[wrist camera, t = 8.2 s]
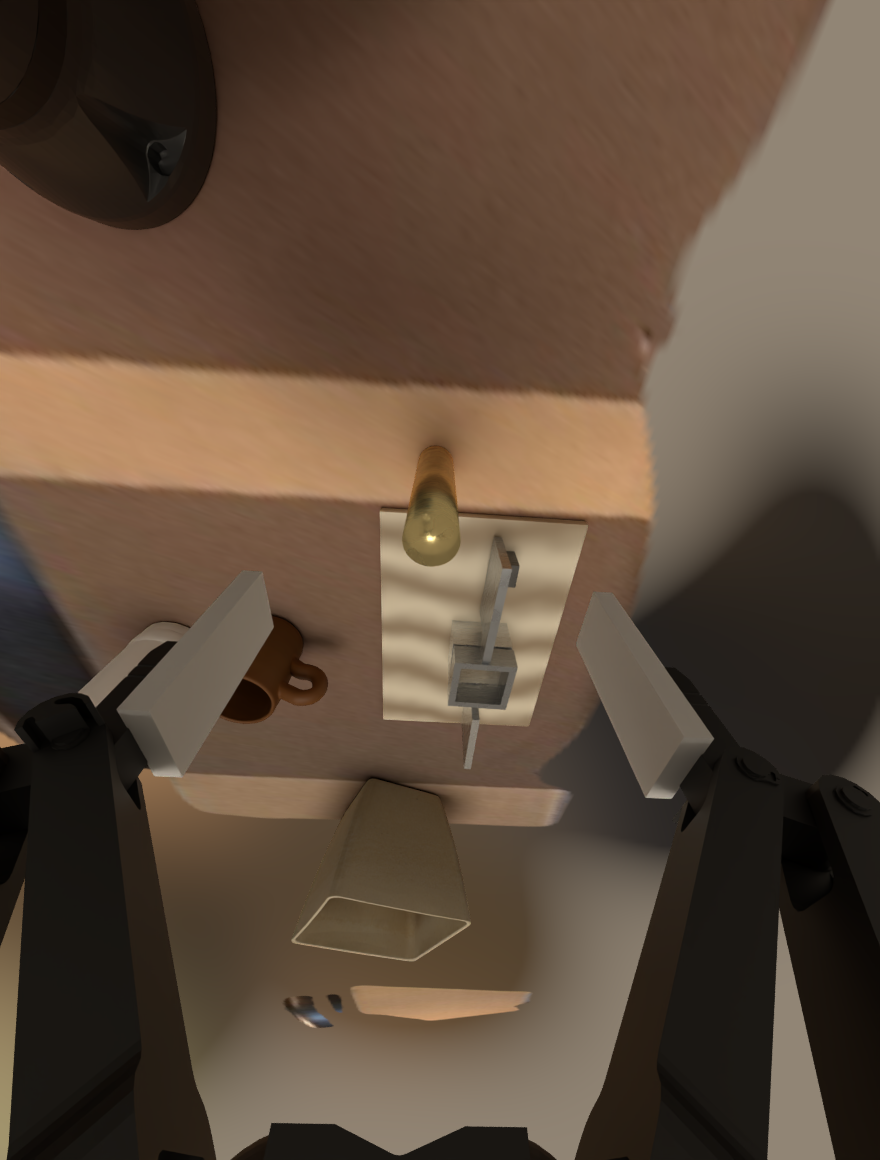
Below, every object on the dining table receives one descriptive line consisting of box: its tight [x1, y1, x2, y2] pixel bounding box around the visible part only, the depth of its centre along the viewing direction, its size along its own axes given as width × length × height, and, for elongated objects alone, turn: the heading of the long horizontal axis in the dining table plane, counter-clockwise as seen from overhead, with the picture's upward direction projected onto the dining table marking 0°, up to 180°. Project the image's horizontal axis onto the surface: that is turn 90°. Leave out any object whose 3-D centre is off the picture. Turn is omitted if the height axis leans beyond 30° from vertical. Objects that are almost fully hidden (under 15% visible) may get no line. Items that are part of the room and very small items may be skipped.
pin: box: [402, 446, 461, 567], centre depth 27 cm, size 3×3×16 cm
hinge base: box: [448, 551, 520, 769], centre depth 41 cm, size 26×6×7 cm, turn 176°
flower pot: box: [292, 779, 471, 961], centre depth 57 cm, size 19×19×17 cm
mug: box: [219, 616, 328, 724], centre depth 41 cm, size 12×8×9 cm, turn 83°
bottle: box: [24, 622, 190, 744], centre depth 33 cm, size 8×8×30 cm
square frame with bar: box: [447, 537, 518, 710], centre depth 38 cm, size 17×6×6 cm, turn 174°
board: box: [380, 508, 588, 726], centre depth 44 cm, size 30×20×1 cm, turn 176°
